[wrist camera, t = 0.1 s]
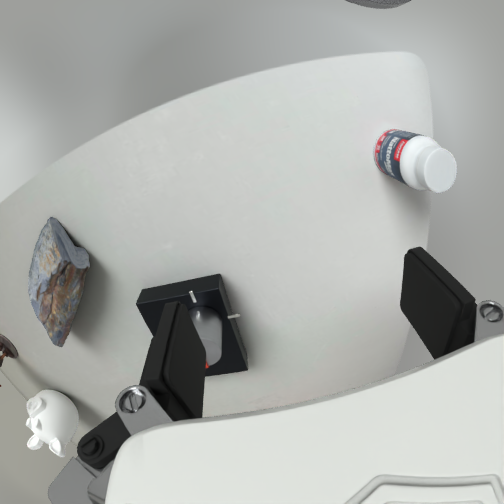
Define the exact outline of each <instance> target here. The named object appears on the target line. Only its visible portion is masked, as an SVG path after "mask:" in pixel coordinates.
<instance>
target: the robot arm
mask: <svg viewBox="0 0 504 504" xmlns="http://www.w3.org/2000/svg"><path fill="white" fill-rule="evenodd" d="M400 306H401V310H402V312H403V313H404V314H405V316H406V317H407V319H408V320H409V322H410V323H411V325H412V326H413V328H414V329H415V330H416V332H417V333H418V335H419V336H420V338H421V339H422V341H423V343H424V344H425V346H426V347H427V349H428V350H429V352H430V353H431V355H432V357H433V358H434V360H433V361H430V362H428V363H426V364H423V365H421V366H418V367H416V368H413V369H411V370H408V371H406V372H403V373H400V374H397V375H394V376H392V377H389V378H386V379H383V380H380V381H377V382H374V383H371V384H368V385H364V386H361V387H358V388H354V389H351V390H348V391H344V392H340V393H337V394H333V395H329V396H325V397H321V398H317V399H313V400H309V401H304V402H300V403H295V404H290V405H285V406H280V407H275V408H269V409H263V410H257V411H251V412H244V413H237V414H230V415H222V416H214V417H204V418H202V412H203V396H204V382H205V369H206V350H205V347H204V345H203V343H202V341H201V339H200V337H199V334H198V332H197V330H196V328H195V326H194V323H193V321H192V319H191V317H190V314H189V312H188V310H187V307H186V305H185V304H181V303H180V302H179V301H176V302H171V303H166V304H165V306H164V309H163V312H162V316H161V319H160V322H159V326H158V329H157V333H156V336H154V337H153V338H152V340H151V344H150V347H149V351H148V354H147V358H146V361H145V365H144V368H143V372H142V376H141V380H140V383H139V385H133V386H130V387H128V388H126V389H124V390H123V391H122V392H120V394H119V395H118V397H117V399H116V401H115V408H116V411H117V412H116V413H114V414H113V415H112V416H110V417H109V418H107V419H106V420H105V421H103V422H102V423H101V424H99V425H98V426H97V427H95V428H94V429H93V430H91V431H90V432H88V433H87V434H86V435H84V436H83V437H82V438H81V440H80V441H79V443H78V447H77V453H78V456H77V458H74V457H72V459H71V460H70V461H69V462H68V464H67V465H66V466H65V467H64V469H63V470H62V471H61V472H60V473H59V475H58V476H57V477H56V479H55V480H54V481H53V482H52V483H51V485H50V487H49V489H48V497H49V499H50V501H51V503H52V504H504V308H503V307H502V306H501V305H500V304H499V303H497V302H495V301H490V300H488V301H487V300H486V301H482V302H481V303H479V304H478V305H477V304H476V303H475V298H474V297H473V296H472V295H471V294H470V293H469V292H468V291H467V290H466V289H465V288H464V287H463V286H462V285H461V284H460V283H459V282H458V281H457V280H456V279H455V278H454V277H453V276H452V275H451V274H450V273H449V272H448V271H447V270H446V269H445V268H444V267H443V266H442V265H440V264H439V263H438V262H437V261H436V260H435V259H434V258H433V257H432V256H431V255H429V254H428V253H427V252H426V251H425V250H424V249H423V248H422V247H416V248H413V249H409V250H408V252H407V254H405V256H404V270H403V281H402V292H401V301H400Z"/></svg>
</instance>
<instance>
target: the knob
mask: <svg viewBox="0 0 504 504" xmlns="http://www.w3.org/2000/svg"><path fill="white" fill-rule="evenodd" d="M188 312H189V314H190V317H191V319H192V321H193V323H194V326H195V328H196V330H197V332H198V334H199V337H200V339H201V341H202V343H203V345H204V347H205V350H206V368H209V366H210V365H213V364H215V363H216V362H217V361H218V360H219V359H220V357H221V350H222V318H221V316H220V315H219V313H218V312H216V311H215V310H213V309H211V308H208V307H195V308H192V309H190V310H189V311H188Z"/></svg>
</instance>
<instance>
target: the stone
mask: <svg viewBox="0 0 504 504" xmlns="http://www.w3.org/2000/svg"><path fill="white" fill-rule="evenodd" d="M88 259H89V255H88V253H87V252H86V250H85V248H81V247H76V246H74V244H73V243H72V241H71V240H70V238H69V237H68V235H67V233H66V232H65V230H64V228H63V227H62V226H61V224H60V223H59V222H58V221H57V220H56V219H55V218H53V217H50V218H49V219H48V221H47V224H46V225H45V226H44V228H43V229H42V231H41V233H40V236H39V239H38V241H37V243H36V246H35V250H34V254H33V258H32V263H31V267H30V271H29V282H28V284H29V286H28V293H29V297H30V301H31V304H32V306H33V308H34V311H35V314H36V316H37V318H38V319H39V321H40V322H41V323H42V324H43V326H44V327H45V329H46V330H47V333H48V335H49V337H50V339H51V341H52V342H53V344H54V345H57V346H59V347H63V345H64V343H65V340H66V338H67V336H68V335H69V332H70V329H71V322H72V320H73V318H74V317H75V313H76V311H77V308H78V305H79V302H80V300H81V296H82V294H83V289H84V280H85V274H86V272H88V270H89V267H90V263H89V260H88Z"/></svg>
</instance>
